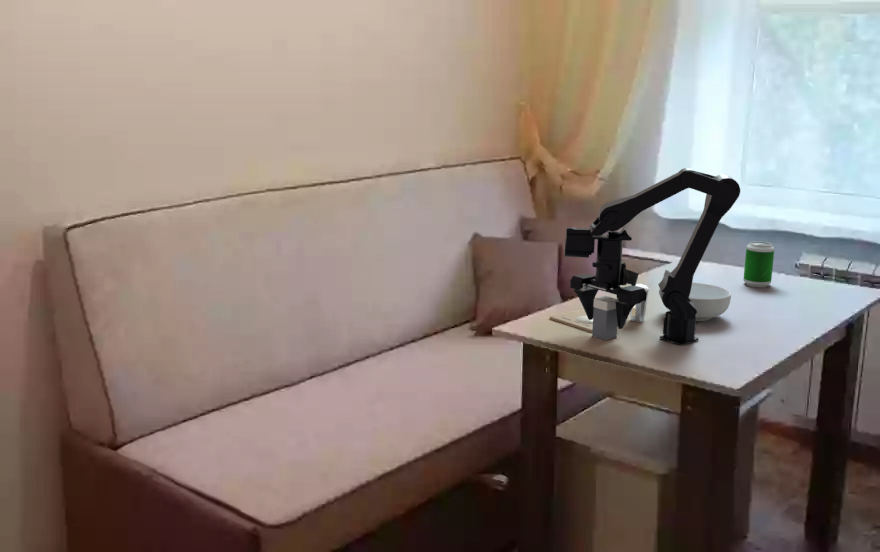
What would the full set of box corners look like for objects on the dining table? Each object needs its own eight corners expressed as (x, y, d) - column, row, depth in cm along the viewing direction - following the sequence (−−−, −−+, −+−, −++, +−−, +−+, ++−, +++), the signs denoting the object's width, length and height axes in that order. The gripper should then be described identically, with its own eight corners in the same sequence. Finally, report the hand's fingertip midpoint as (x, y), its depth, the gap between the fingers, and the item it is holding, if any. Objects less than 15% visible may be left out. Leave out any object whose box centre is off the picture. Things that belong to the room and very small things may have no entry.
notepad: (625, 323, 234) (625, 321, 233) (591, 332, 226) (591, 329, 226) (583, 311, 244) (583, 308, 244) (549, 318, 237) (549, 316, 237)
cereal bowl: (708, 330, 229) (711, 302, 227) (647, 317, 240) (649, 289, 238) (740, 316, 241) (743, 289, 240) (681, 304, 252) (683, 278, 250)
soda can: (774, 288, 270) (778, 246, 267) (747, 287, 270) (751, 246, 267) (765, 281, 277) (769, 241, 275) (739, 281, 277) (743, 240, 275)
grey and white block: (617, 337, 223) (619, 299, 221) (605, 340, 220) (607, 302, 218) (603, 332, 226) (605, 295, 224) (591, 335, 224) (593, 298, 221)
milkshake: (650, 323, 234) (652, 283, 232) (627, 322, 235) (630, 282, 233) (650, 318, 238) (652, 279, 236) (628, 317, 239) (630, 278, 237)
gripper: (664, 261, 217) (659, 327, 220) (602, 247, 231) (598, 309, 235) (632, 267, 210) (627, 336, 214) (569, 252, 224) (566, 317, 228)
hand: (605, 324), depth 223 cm, fingers open, 9 cm apart
